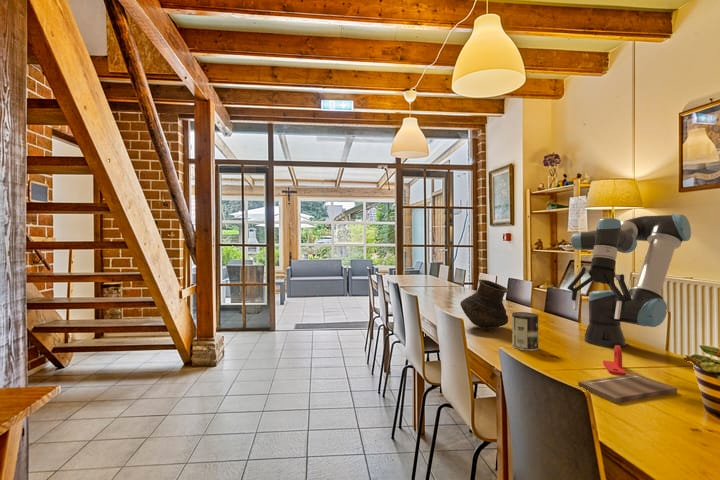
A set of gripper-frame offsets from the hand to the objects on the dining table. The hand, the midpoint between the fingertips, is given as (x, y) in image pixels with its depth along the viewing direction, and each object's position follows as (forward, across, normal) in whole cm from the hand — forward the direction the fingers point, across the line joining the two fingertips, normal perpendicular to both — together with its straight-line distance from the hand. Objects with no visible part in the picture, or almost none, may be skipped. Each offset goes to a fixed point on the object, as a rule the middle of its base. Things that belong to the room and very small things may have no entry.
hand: (595, 314), depth 133 cm
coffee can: (+19, -19, +17) cm, 32 cm away
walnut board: (+22, +5, -21) cm, 31 cm away
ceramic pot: (+16, -35, +47) cm, 61 cm away
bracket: (+18, +8, -1) cm, 19 cm away
